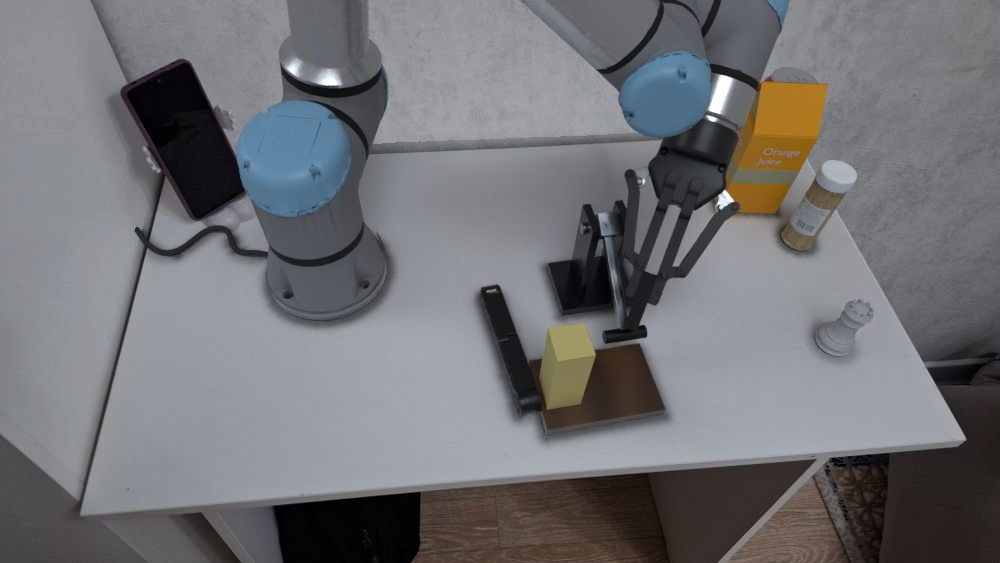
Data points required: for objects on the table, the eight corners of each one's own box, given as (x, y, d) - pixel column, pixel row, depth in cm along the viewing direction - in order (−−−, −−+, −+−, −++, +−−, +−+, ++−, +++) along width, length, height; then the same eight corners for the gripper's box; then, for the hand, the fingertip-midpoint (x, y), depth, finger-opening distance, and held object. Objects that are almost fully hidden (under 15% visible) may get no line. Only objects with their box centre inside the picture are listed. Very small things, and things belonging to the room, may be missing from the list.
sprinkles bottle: (818, 243, 89) (866, 174, 78) (797, 256, 87) (843, 187, 77) (793, 223, 91) (836, 153, 81) (773, 236, 90) (814, 166, 79)
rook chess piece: (812, 350, 78) (842, 315, 72) (814, 323, 80) (844, 286, 74) (848, 363, 77) (882, 328, 71) (850, 335, 80) (883, 299, 73)
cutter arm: (642, 338, 73) (650, 337, 71) (602, 344, 72) (608, 343, 70) (620, 214, 75) (626, 209, 73) (580, 219, 74) (586, 214, 72)
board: (545, 435, 70) (547, 430, 68) (527, 366, 75) (528, 360, 74) (662, 415, 72) (665, 409, 71) (636, 349, 77) (639, 343, 76)
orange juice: (775, 214, 92) (839, 102, 76) (717, 212, 92) (768, 99, 76) (763, 178, 97) (820, 65, 81) (707, 176, 97) (753, 63, 81)
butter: (546, 410, 70) (557, 361, 61) (538, 379, 72) (547, 327, 64) (580, 404, 71) (596, 354, 62) (571, 373, 73) (585, 322, 64)
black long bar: (541, 415, 71) (543, 403, 69) (519, 420, 71) (521, 409, 68) (497, 293, 81) (498, 280, 79) (478, 297, 81) (479, 284, 79)
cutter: (635, 305, 81) (660, 235, 70) (561, 316, 80) (576, 246, 69) (616, 258, 86) (637, 186, 75) (546, 268, 84) (558, 195, 73)
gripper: (761, 146, 68) (686, 342, 72) (647, 113, 71) (580, 304, 75) (773, 136, 61) (688, 355, 65) (645, 99, 64) (571, 312, 68)
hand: (630, 327), depth 70 cm, fingers closed
